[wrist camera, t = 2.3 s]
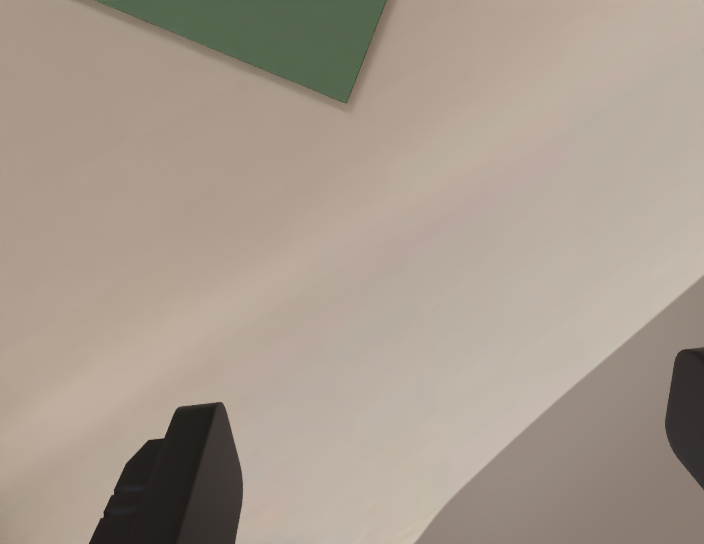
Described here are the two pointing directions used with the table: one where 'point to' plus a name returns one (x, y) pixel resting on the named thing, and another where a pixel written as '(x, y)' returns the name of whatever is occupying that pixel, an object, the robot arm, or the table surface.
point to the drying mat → (275, 34)
